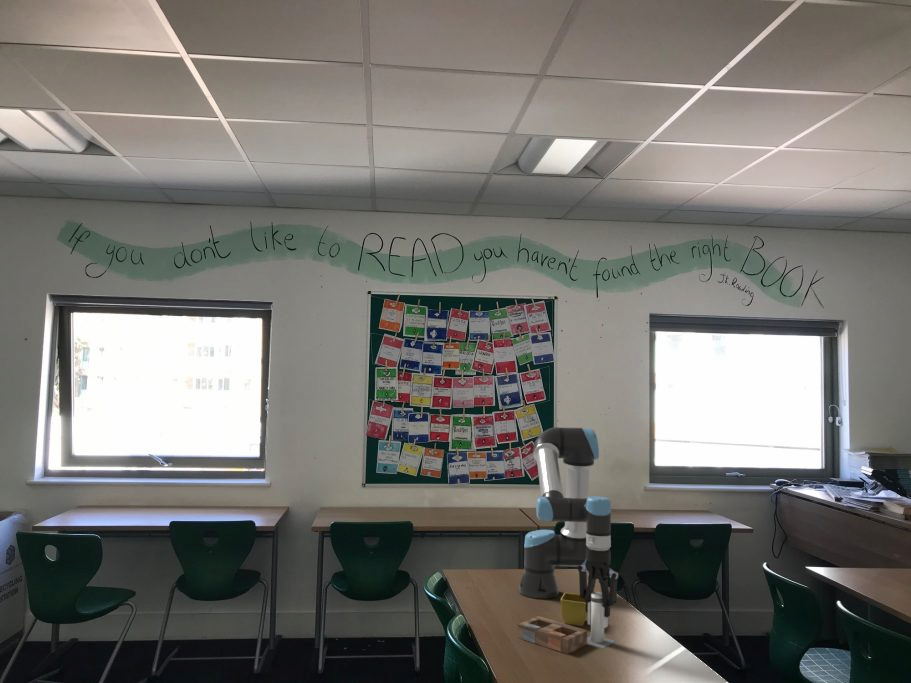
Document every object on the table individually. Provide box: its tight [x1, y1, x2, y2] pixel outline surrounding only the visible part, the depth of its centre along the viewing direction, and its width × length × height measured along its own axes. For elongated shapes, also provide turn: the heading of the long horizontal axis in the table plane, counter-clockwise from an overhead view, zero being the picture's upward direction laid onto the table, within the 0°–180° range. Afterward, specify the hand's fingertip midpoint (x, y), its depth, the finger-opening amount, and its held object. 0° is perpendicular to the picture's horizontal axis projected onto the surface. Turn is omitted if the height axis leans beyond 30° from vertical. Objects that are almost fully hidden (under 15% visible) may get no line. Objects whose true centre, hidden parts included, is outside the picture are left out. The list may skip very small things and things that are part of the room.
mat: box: [587, 634, 616, 649], centre depth 200 cm, size 8×8×1 cm
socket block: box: [517, 615, 588, 655], centre depth 200 cm, size 11×18×5 cm, turn 48°
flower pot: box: [560, 592, 588, 627], centre depth 218 cm, size 9×9×9 cm
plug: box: [590, 591, 605, 643], centre depth 201 cm, size 4×4×14 cm
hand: (597, 625), depth 201 cm, fingers closed on plug, 4 cm apart
